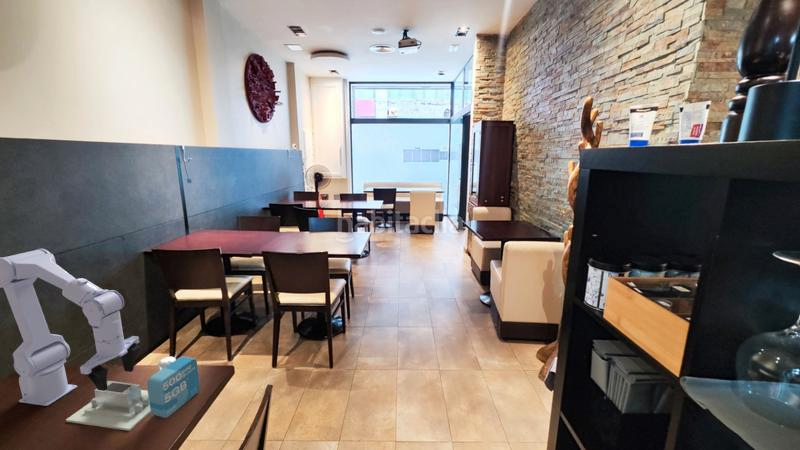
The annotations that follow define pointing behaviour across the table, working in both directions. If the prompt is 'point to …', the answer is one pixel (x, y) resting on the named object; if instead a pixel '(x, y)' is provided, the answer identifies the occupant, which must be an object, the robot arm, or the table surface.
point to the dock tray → (112, 415)
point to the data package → (173, 386)
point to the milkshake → (166, 362)
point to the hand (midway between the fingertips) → (116, 379)
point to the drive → (118, 397)
